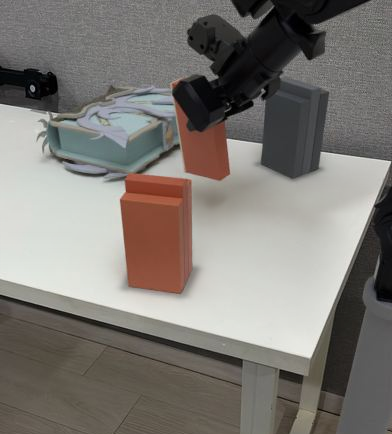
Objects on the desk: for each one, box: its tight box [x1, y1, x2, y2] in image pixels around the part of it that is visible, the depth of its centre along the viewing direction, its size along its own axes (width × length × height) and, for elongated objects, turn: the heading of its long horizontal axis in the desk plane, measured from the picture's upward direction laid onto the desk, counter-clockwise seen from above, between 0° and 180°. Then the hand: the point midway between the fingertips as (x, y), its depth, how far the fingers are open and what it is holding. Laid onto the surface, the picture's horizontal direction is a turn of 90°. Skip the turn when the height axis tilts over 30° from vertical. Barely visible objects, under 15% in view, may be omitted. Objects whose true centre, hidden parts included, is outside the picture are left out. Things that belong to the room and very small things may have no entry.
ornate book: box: [35, 84, 180, 179], centre depth 103 cm, size 23×10×30 cm
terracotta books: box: [119, 173, 193, 295], centre depth 69 cm, size 7×6×14 cm
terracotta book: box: [169, 77, 231, 182], centre depth 80 cm, size 7×2×13 cm, turn 48°
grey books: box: [260, 76, 330, 179], centre depth 95 cm, size 8×6×14 cm
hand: (194, 125), depth 80 cm, fingers closed on terracotta book, 3 cm apart
